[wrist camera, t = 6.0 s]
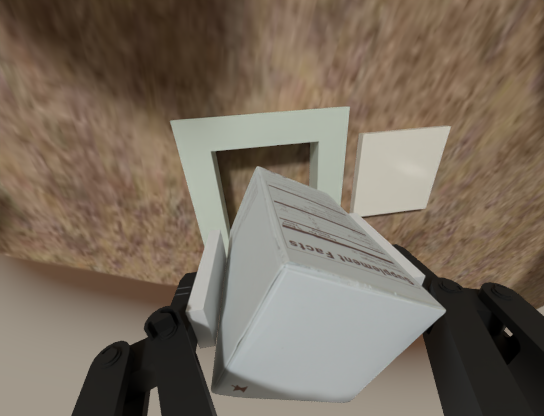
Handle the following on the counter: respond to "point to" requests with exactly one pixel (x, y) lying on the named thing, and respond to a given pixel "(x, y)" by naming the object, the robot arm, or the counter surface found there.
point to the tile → (396, 169)
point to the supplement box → (309, 299)
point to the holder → (257, 133)
